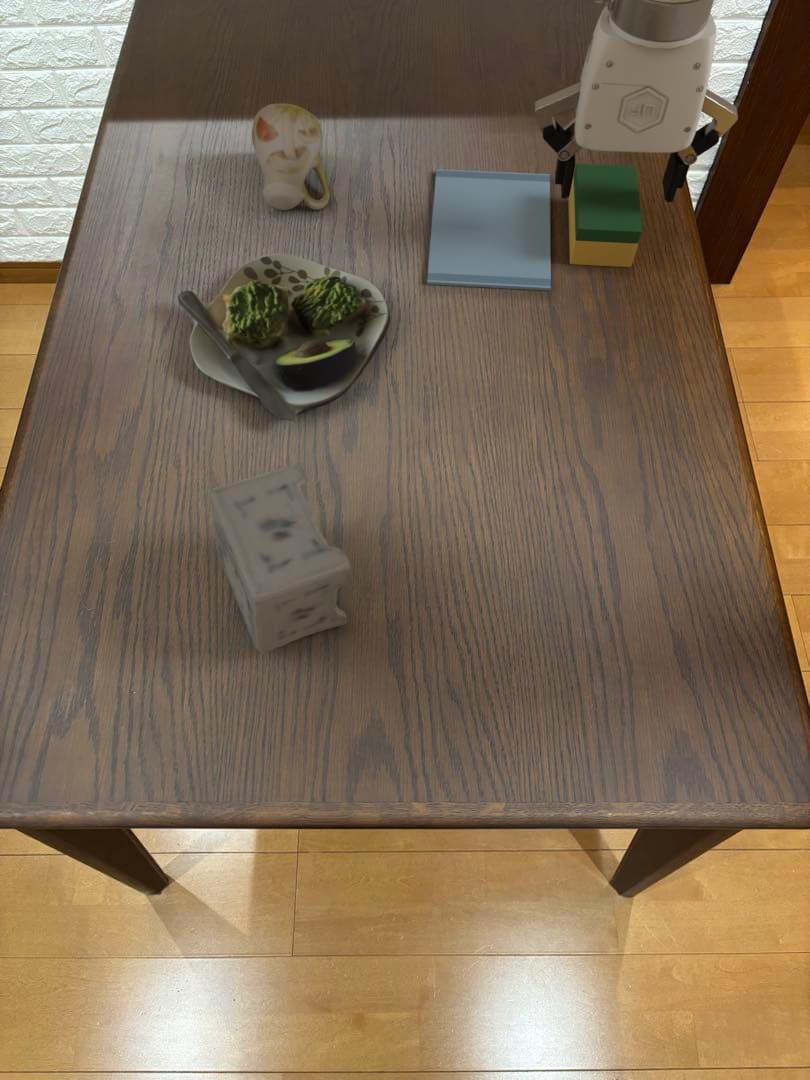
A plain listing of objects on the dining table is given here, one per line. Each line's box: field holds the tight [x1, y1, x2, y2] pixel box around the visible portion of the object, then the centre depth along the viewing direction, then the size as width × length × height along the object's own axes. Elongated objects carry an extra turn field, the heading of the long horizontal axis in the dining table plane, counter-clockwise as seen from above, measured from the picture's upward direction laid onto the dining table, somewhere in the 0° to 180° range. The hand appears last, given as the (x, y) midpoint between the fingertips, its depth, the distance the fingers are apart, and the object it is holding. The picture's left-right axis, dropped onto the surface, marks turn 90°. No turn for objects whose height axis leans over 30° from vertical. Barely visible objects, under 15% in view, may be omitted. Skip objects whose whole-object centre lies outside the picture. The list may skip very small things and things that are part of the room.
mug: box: [251, 102, 331, 211], centre depth 84 cm, size 8×10×10 cm
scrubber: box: [568, 163, 643, 268], centre depth 81 cm, size 9×6×4 cm, turn 176°
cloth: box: [426, 168, 552, 292], centre depth 84 cm, size 12×16×1 cm
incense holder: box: [209, 462, 352, 654], centre depth 61 cm, size 10×8×10 cm
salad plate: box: [177, 253, 391, 422], centre depth 75 cm, size 19×18×5 cm
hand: (615, 190), depth 78 cm, fingers open, 9 cm apart
